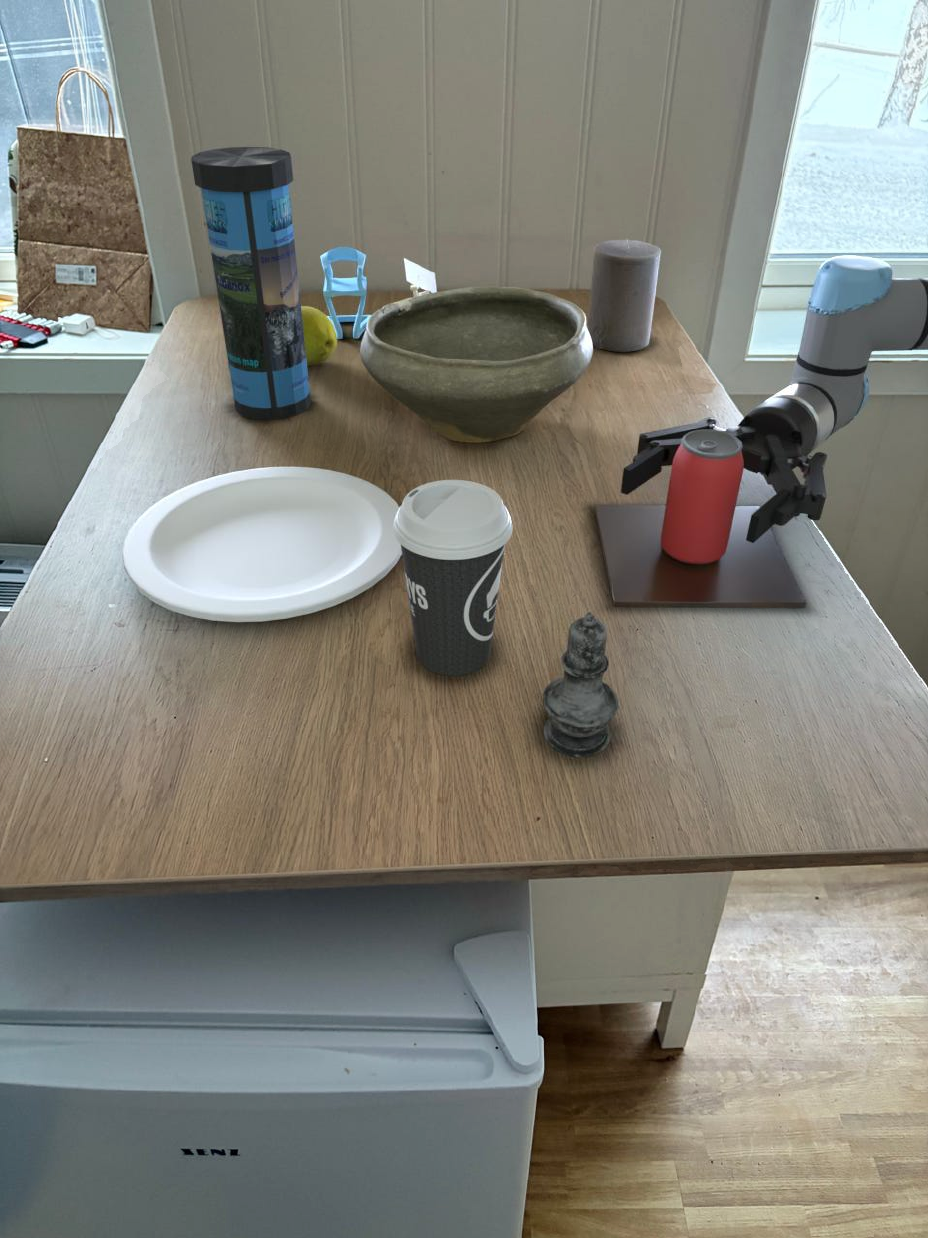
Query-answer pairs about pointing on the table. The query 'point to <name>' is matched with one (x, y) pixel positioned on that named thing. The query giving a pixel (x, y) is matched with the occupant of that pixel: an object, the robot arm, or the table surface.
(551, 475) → the table surface
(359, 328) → the chair
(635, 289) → the pillar candle
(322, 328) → the lemon
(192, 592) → the plate
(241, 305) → the advertising column
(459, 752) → the table surface
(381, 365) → the bowl
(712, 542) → the beer can
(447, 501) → the coffee cup
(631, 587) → the back mat
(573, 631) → the salt shaker
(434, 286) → the white panel on stand
